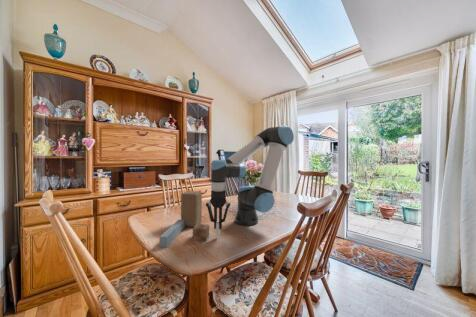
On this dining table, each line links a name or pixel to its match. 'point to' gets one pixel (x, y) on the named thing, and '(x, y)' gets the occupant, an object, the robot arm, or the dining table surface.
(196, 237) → the walnut block
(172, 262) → the dining table surface
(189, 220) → the wooden block
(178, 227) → the bar
